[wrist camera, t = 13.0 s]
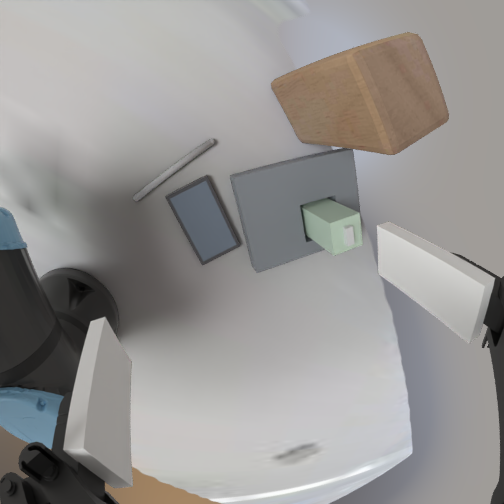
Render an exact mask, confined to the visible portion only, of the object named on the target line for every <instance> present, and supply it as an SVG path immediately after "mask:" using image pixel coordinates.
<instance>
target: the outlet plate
mask: <svg viewBox="0 0 504 504" xmlns="http://www.w3.org/2000/svg"><path fill="white" fill-rule="evenodd" d="M230 179H231V183H232V187H233V191H234V195H235V199H236V203H237V207H238V211H239V215H240V219H241V223H242V227H243V231H244V235H245V239H246V243H247V247H248V251H249V255H250V259H251V263H252V266H253V268H254V269H255V271H256V272H257V273H258V272H261V271H264V270H267V269H270V268H273V267H276V266H279V265H282V264H285V263H287V262H290V261H293V260H296V259H299V258H302V257H305V256H307V255H310V254H313V253H316V252H319V251H322V250H324V248H323V247H322V246H320V245H319V244H318V243H316V242H315V241H314V240H312V239H311V238H310V237H308V236H307V235H305V233H304V227H303V221H302V215H301V209H300V205H303V204H306V203H310V202H313V201H316V200H320V199H323V198H327V197H328V199H330V200H332V201H335V202H337V203H339V204H341V205H344V206H346V207H348V208H350V209H352V210H354V211H357V212H359V213H360V206H359V196H358V187H357V178H356V169H355V162H354V154H353V149H347V148H342V149H337V150H332V151H327V152H322V153H318V154H313V155H309V156H304V157H300V158H296V159H291V160H287V161H283V162H279V163H275V164H271V165H267V166H263V167H259V168H256V169H252V170H248V171H244V172H241V173H237V174H233V175H230ZM360 221H361V217H360ZM361 231H362V230H361Z"/></svg>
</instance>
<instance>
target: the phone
mask: <svg viewBox="0 0 504 504" xmlns="http://www.w3.org/2000/svg"><path fill="white" fill-rule="evenodd" d="M166 199H167V201H168V203H169V205H170V207H171V208H172V210H173V212H174V214H175V216H176V218H177V220H178V222H179V223H180V225H181V227H182V229H183V231H184V233H185V235H186V236H187V238H188V240H189V242H190V244H191V246H192V247H193V249H194V251H195V253H196V255H197V256H198V258H199V260H200V262H201V264H202V265H204V264H206V263H208V262H210V261H212V260H214V259H216V258H218V257H220V256H222V255H224V254H226V253H227V252H229V251H231V250H233V249H235V248H237V247H239V246H240V244H239V242H238V240H237V238H236V236H235V234H234V232H233V229H232V227H231V225H230V223H229V221H228V219H227V217H226V215H225V213H224V211H223V208H222V206H221V204H220V202H219V200H218V198H217V196H216V194H215V192H214V189H213V187H212V185H211V183H210V181H209V179H208V177H207V175H206V176H203V177H201V178H199V179H197V180H195V181H193V182H191V183H189V184H188V185H186V186H184V187H182V188H180V189H178V190H176V191H174V192H172V193H170V194H168V195H166Z"/></svg>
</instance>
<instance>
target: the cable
mask: <svg viewBox="0 0 504 504" xmlns="http://www.w3.org/2000/svg"><path fill="white" fill-rule="evenodd" d="M214 143H215V141H214V140H213V139H209V140H208V141H206V142H205V143H203V144H202V145H200V146H199V147H198V148H196V149H195V150H193V151H192V152H190V153H189V154H188V155H186V156H185V157H184V158H182V159H181V160H179V161H178V162H177V163H175V164H174V165H173V166H171V167H170V168H169V169H167V170H166V171H165V172H163V173H162V174H161V175H160V176H158V177H157V178H156V179H154V180H153V181H152V182H151V183H149V184H148V185H147V186H146V187H144V188H143V189H142V190H141V191H139V192H138V193H137V194H136V195H134V197H133V200H134V201H136V202H137V201H139V200H140V199H141V198H143V197H144V196H145V195H146V194H148V193H149V192H150V191H151V190H153V189H154V188H155V187H156V186H158V185H159V184H160V183H162V182H163V181H164V180H166V179H167V178H168V177H169V176H171V175H172V174H173V173H175V172H176V171H177V170H179V169H180V168H181V167H183V166H184V165H186V164H187V163H188V162H190V161H191V160H192V159H194V158H195V157H197V156H198V155H199V154H201V153H202V152H204V151H205V150H207V149H208V148H209V147H211V146H212V145H214Z"/></svg>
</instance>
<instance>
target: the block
mask: <svg viewBox="0 0 504 504" xmlns="http://www.w3.org/2000/svg"><path fill="white" fill-rule="evenodd" d="M271 86H272V90H273V91H274V93H275V95H276V97H277V99H278V101H279V102H280V104H281V106H282V108H283V110H284V112H285V114H286V115H287V117H288V119H289V121H290V123H291V125H292V127H293V129H294V131H295V133H296V135H297V137H298V139H299V140H300V141H301V142H302V143H310V144H319V145H327V146H336V147H343V148H350V149H356V150H363V151H369V152H376V153H381V154H387V155H395V154H397V153H399V152H401V151H402V150H404V149H405V148H407V147H408V146H410V145H411V144H413V143H415V142H416V141H418V140H419V139H421V138H422V137H424V136H425V135H427V134H429V133H430V132H432V131H433V130H435V129H436V128H438V127H440V126H441V125H443V124H444V123H446V122H447V121H448V119H449V113H448V110H447V106H446V103H445V100H444V96H443V93H442V90H441V87H440V84H439V82H438V79H437V76H436V73H435V71H434V68H433V65H432V63H431V60H430V58H429V55H428V53H427V51H426V48H425V46H424V44H423V41H422V39H421V38H420V37H419V36H418V35H417V34H413V33H410V32H407V33H403V34H399V35H395V36H391V37H388V38H385V39H381V40H378V41H374V42H371V43H367V44H364V45H361V46H358V47H355V48H352V49H349V50H346V51H343V52H340V53H337V54H335V55H332V56H329V57H326V58H324V59H321V60H319V61H316V62H314V63H311V64H309V65H306V66H304V67H301V68H299V69H297V70H294V71H292V72H290V73H288V74H285V75H283V76H281V77H279V78H277V79H275V80H274V81H273V82H272V83H271Z"/></svg>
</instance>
